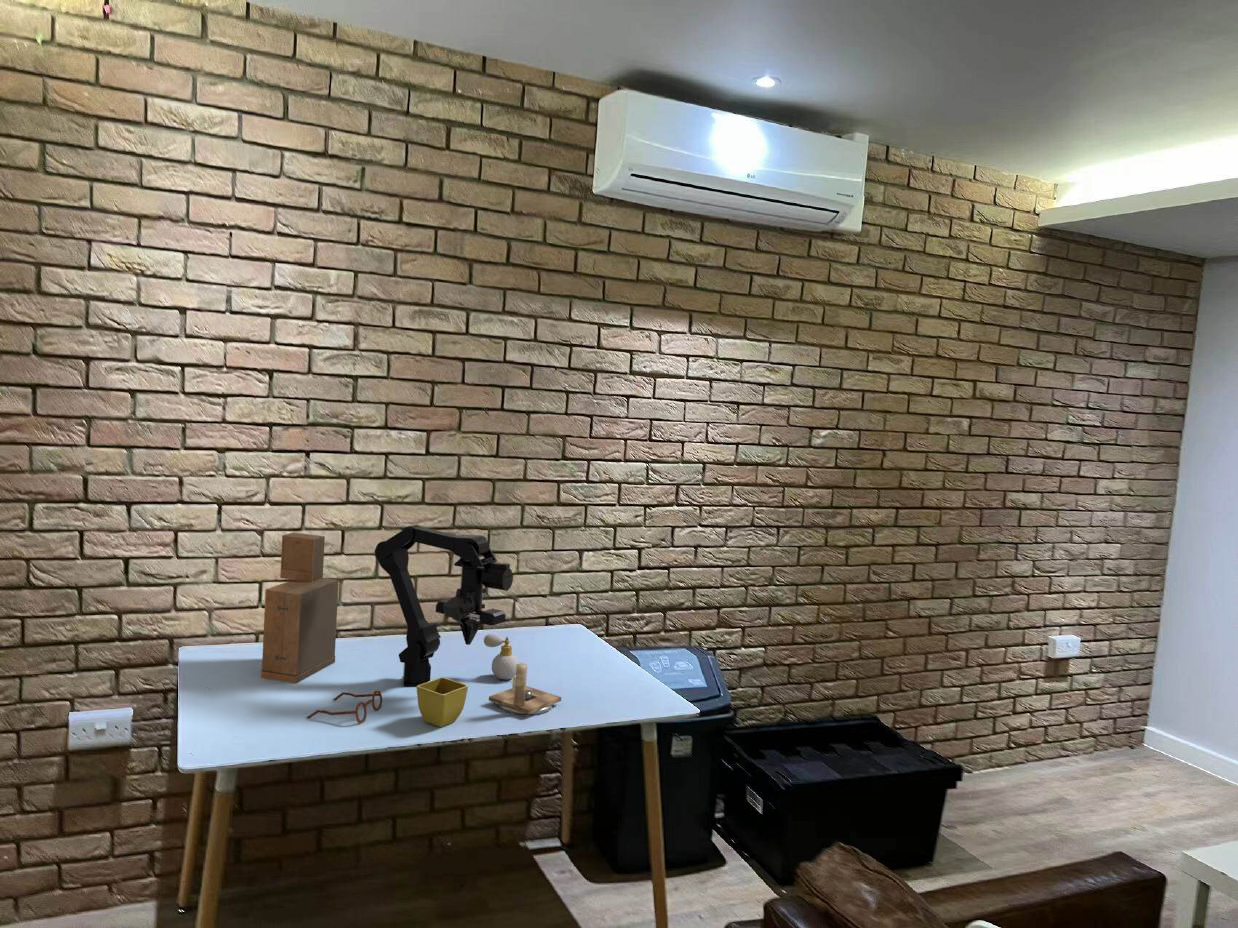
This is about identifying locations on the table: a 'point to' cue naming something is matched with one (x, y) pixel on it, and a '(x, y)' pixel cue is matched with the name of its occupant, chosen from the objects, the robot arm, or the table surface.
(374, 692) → the glasses
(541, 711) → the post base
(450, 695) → the flower pot
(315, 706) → the table surface
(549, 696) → the flange plate
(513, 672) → the perfume bottle
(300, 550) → the stacked wooden blocks
